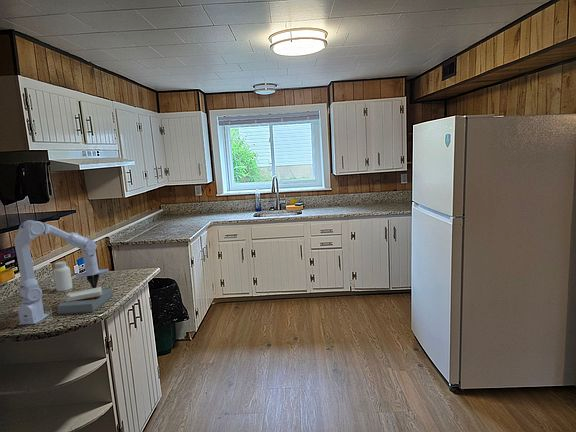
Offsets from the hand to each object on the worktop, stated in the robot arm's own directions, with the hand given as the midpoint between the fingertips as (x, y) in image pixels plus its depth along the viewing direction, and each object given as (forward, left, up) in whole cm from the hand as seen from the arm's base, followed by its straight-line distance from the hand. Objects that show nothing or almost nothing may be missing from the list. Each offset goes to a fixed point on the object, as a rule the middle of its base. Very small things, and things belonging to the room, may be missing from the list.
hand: (95, 289), depth 192 cm
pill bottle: (+19, +27, -5) cm, 33 cm away
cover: (-7, +2, -1) cm, 7 cm away
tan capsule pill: (-8, -2, -4) cm, 9 cm away
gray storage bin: (-7, +1, -5) cm, 9 cm away
